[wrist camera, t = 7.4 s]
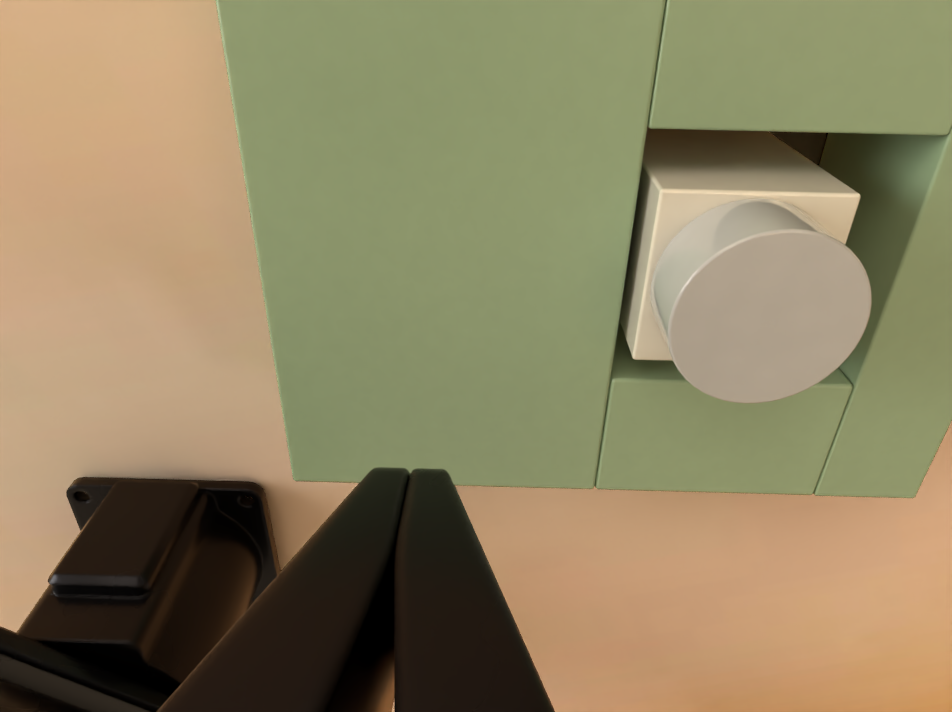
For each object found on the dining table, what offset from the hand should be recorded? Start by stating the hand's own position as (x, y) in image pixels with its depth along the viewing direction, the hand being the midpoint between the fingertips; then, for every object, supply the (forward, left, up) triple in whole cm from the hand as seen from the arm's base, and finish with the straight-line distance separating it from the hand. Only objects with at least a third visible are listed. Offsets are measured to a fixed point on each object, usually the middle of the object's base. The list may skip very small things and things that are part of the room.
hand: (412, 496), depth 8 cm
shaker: (0, -4, -8) cm, 9 cm away
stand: (0, -4, -11) cm, 12 cm away
